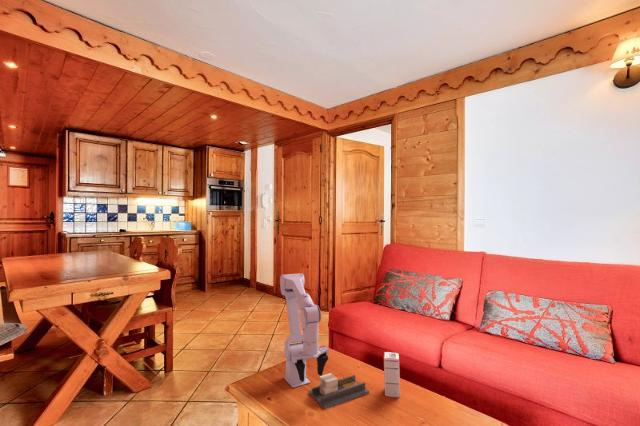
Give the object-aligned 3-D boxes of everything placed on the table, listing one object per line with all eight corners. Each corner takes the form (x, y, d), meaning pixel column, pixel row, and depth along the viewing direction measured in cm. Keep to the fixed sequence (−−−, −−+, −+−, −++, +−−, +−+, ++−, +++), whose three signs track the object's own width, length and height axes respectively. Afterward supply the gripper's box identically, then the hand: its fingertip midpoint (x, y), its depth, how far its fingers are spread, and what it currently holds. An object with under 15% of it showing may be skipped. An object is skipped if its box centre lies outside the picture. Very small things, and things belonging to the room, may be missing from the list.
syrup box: (400, 397, 118) (400, 359, 118) (384, 396, 119) (383, 357, 119) (399, 389, 123) (399, 352, 124) (384, 388, 125) (383, 351, 125)
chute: (308, 392, 121) (308, 385, 121) (351, 379, 131) (351, 372, 131) (324, 409, 111) (324, 400, 111) (369, 393, 121) (369, 385, 121)
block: (319, 392, 120) (319, 376, 120) (330, 388, 122) (330, 373, 122) (326, 398, 116) (326, 382, 116) (337, 394, 118) (337, 378, 118)
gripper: (298, 348, 108) (298, 388, 107) (333, 339, 115) (333, 376, 115) (289, 341, 114) (289, 379, 113) (323, 333, 121) (323, 369, 121)
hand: (311, 377), depth 115 cm, fingers open, 7 cm apart
